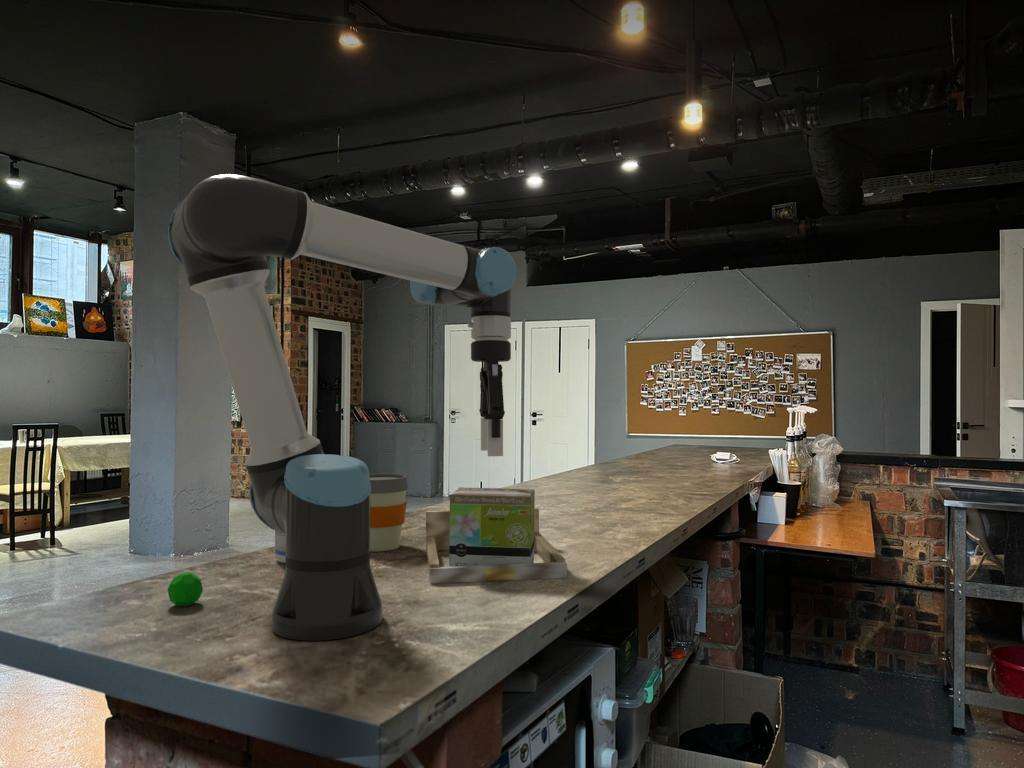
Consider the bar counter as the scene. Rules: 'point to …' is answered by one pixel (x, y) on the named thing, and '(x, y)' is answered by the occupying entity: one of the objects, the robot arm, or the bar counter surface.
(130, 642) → the bar counter surface
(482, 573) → the open wooden storage bin
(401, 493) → the reusable coffee cup
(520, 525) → the tea box
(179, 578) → the polyhedron
